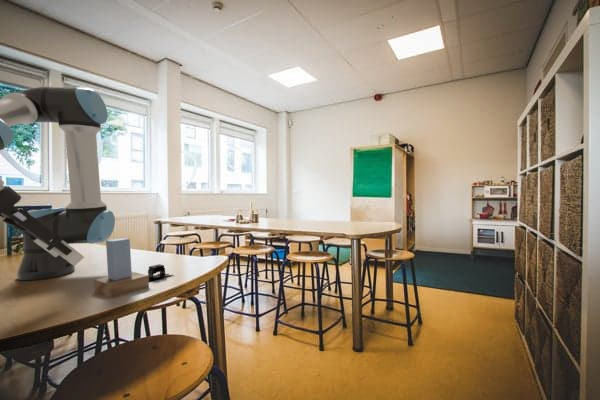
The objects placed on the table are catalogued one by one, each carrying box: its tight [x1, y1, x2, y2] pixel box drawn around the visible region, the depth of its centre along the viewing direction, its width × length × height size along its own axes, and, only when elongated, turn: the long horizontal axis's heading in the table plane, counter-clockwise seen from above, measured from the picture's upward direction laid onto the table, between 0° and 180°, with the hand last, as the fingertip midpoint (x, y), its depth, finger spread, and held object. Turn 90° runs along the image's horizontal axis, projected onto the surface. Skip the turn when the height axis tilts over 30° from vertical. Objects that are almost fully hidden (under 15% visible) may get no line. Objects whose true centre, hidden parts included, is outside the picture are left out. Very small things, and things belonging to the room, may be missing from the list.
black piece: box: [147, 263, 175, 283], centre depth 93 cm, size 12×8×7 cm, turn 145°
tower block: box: [105, 237, 133, 281], centre depth 82 cm, size 4×4×11 cm
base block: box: [93, 271, 150, 299], centre depth 82 cm, size 10×10×4 cm
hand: (69, 257), depth 72 cm, fingers open, 13 cm apart
